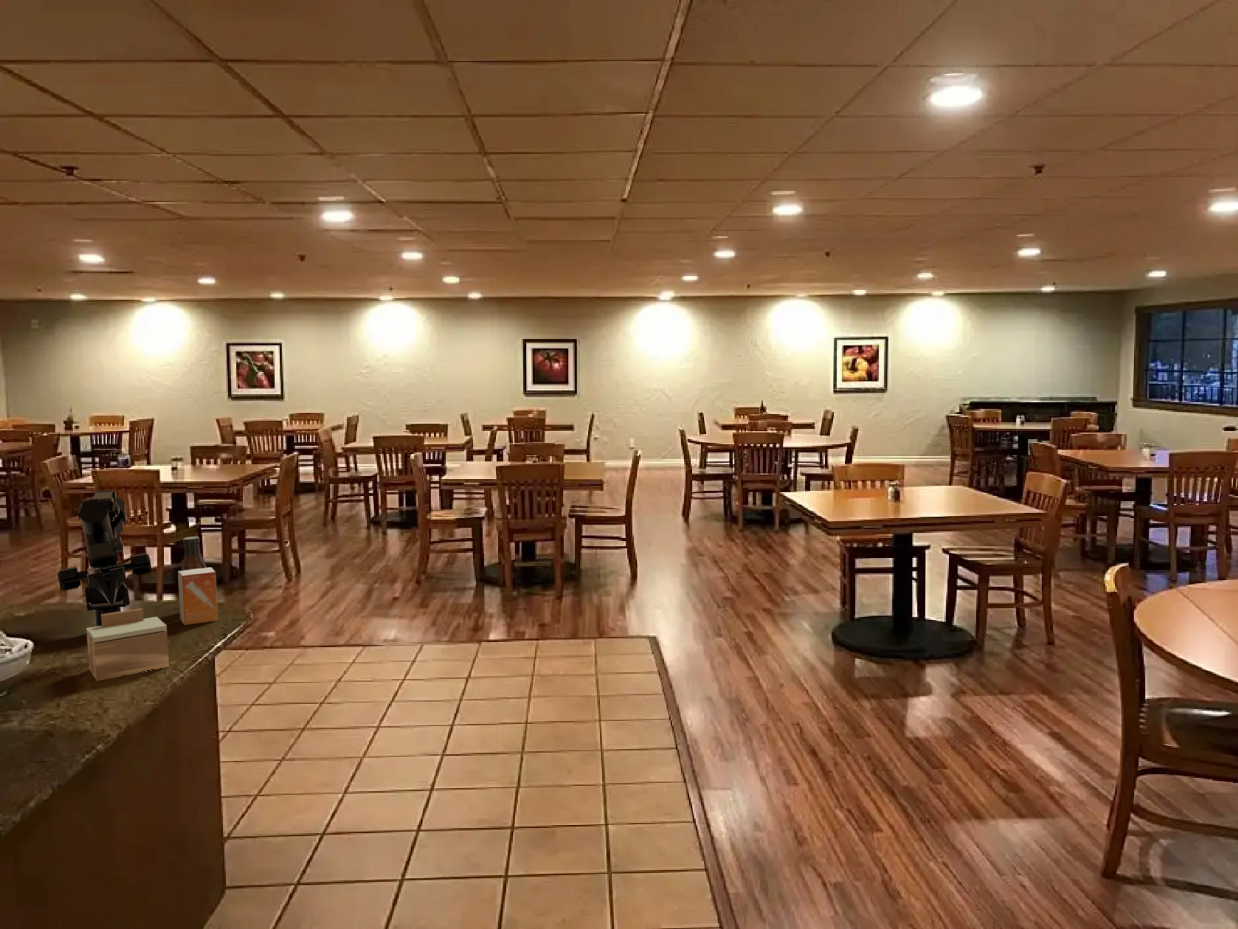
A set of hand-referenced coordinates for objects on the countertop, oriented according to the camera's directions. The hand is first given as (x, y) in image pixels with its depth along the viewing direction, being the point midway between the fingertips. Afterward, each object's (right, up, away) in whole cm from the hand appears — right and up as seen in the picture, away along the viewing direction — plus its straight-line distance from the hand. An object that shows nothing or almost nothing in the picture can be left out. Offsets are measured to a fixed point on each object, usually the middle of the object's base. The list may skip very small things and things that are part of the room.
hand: (112, 603), depth 213 cm
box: (+8, -13, -8) cm, 17 cm away
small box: (+7, -9, +29) cm, 31 cm away
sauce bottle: (+2, -8, +38) cm, 38 cm away
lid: (+8, -5, -9) cm, 13 cm away
